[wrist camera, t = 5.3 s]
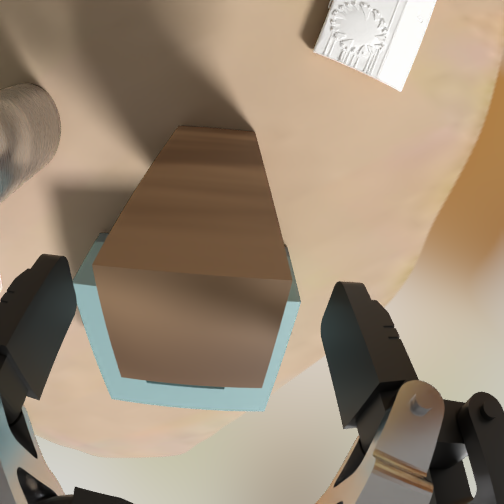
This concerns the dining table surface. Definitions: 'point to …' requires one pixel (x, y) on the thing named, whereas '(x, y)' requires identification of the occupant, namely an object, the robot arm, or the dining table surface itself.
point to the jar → (0, 283)
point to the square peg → (196, 266)
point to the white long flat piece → (375, 36)
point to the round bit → (25, 134)
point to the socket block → (168, 391)
